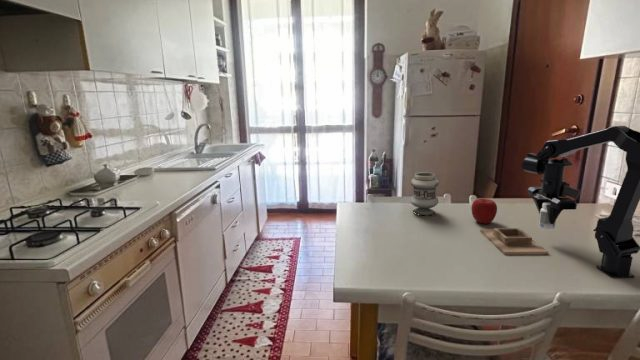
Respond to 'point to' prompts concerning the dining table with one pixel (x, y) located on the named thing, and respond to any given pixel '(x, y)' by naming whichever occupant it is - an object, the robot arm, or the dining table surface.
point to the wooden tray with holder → (513, 241)
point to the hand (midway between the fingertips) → (547, 221)
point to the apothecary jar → (424, 193)
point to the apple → (484, 210)
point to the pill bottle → (545, 218)
